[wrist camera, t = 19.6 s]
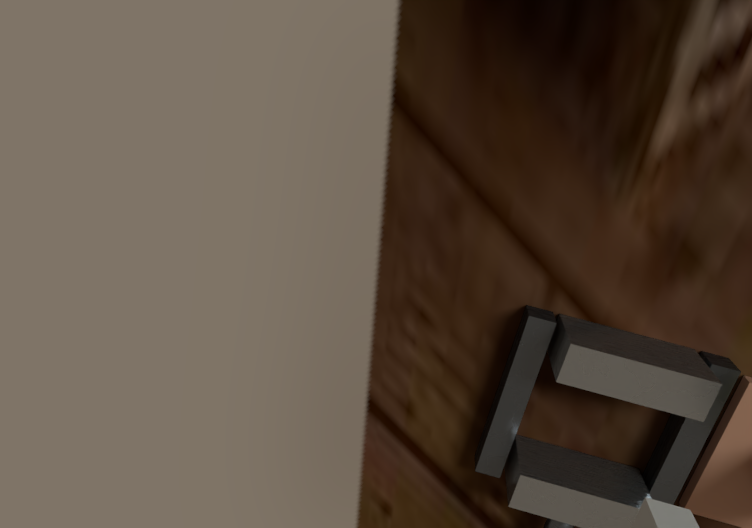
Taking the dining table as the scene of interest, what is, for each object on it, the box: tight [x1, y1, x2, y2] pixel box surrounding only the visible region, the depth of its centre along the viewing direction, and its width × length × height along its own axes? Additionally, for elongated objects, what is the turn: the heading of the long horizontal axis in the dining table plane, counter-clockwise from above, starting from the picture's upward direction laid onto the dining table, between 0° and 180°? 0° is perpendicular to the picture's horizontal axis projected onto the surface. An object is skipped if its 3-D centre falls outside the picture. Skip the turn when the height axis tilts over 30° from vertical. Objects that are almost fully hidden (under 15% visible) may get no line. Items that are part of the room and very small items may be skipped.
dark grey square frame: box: [475, 305, 741, 528], centre depth 44 cm, size 21×15×5 cm
